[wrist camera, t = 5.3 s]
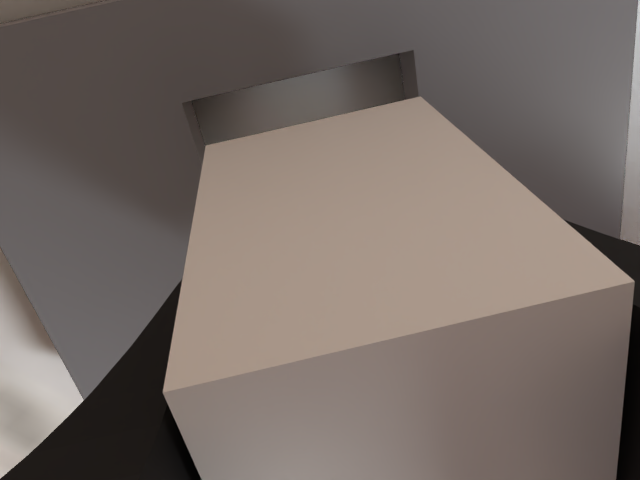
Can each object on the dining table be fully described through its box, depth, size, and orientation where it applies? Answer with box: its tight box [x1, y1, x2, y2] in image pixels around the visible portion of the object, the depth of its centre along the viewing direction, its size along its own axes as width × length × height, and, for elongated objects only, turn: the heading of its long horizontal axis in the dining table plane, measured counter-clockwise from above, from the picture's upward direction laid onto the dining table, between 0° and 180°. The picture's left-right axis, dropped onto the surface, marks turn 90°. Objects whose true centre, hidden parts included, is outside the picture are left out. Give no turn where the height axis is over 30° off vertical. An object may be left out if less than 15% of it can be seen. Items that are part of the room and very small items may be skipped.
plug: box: [163, 96, 635, 480], centre depth 9 cm, size 4×4×7 cm
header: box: [0, 0, 638, 400], centre depth 15 cm, size 16×10×2 cm, turn 100°
